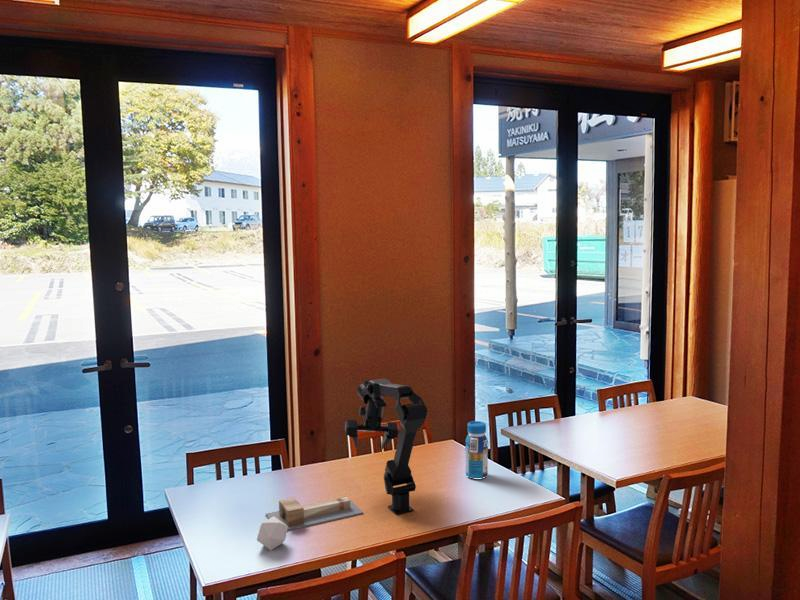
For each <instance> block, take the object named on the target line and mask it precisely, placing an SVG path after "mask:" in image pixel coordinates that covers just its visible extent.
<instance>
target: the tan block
mask: <svg viewBox="0 0 800 600" xmlns="http://www.w3.org/2000/svg"><path fill="white" fill-rule="evenodd" d="M302 506H303V505H302V504H300V502H299V501H298V500H297V499H296V498H295V497H290V498H284V499H280V500H278V509H279V510H278V511H279V516H280V517H281V518H282V519H284V518H286V524H287V526H288V527H290V526H295V525H299V524H304V508H303V507H302Z"/></svg>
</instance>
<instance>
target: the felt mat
mask: <svg viewBox="0 0 800 600" xmlns="http://www.w3.org/2000/svg"><path fill="white" fill-rule="evenodd" d="M344 497H345V496H344ZM344 497H341V498H344ZM339 498H340V497H338V498H337V499H339ZM335 499H336V498H333V499H332V500H335ZM330 500H331V499H329V500H325V501H323V502H326V501H330ZM321 502H322V501H319V502H318V503H321ZM316 503H317V502H315V503H313V504H316ZM311 504H312V503H310V504H309V503H308V504H306V505H305V504H304V506H307V505H311ZM363 514H364V512H363V510H361V508H359V506H357V505H356V504H355V503H354V502H352V500H350V508H349V509H345V510H340V511H336V512H331V513H327V514H322V515H318V516H313V517H309V518H304V524H299V525H295V526H290V527H288V528H287V532H289V531H293V530H297V529H301V528H306V527H311V526H314V525H319V524H324V523H328V522H332V521H337V520H341V519H345V518H350V517H354V516H358V515H359V516H360V515H363ZM265 516H266V517H267V520H268V519H270V518H271V517H273V516H274V517H276V518H277V519H279V520H280V521H281V522H283V523H284V524H285V525H287V524H286V518H284V519H282V518H281V517H280V516H279V510H277V511H271V512H268V513H265Z"/></svg>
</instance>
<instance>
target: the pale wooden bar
mask: <svg viewBox="0 0 800 600" xmlns="http://www.w3.org/2000/svg"><path fill="white" fill-rule="evenodd" d="M338 498H339V499H338ZM338 498H334V499H335V500H333V499H329V500H330V501H328V500H325V501H326V502H324V501H320V502H321V503H319V502H315V503H316V504H314V503H310V504H311V505H309V504H306V505H307V506H305V505H301V506H302V507H303V508H304V518H309V517H313V516H318V515H322V514H327V513H331V512H336V511H340V510H345V509H349V508H350V501H351V499H350V498H349V497H347V496H344V498H342V497H338Z"/></svg>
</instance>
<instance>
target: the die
mask: <svg viewBox="0 0 800 600" xmlns="http://www.w3.org/2000/svg"><path fill="white" fill-rule="evenodd" d="M287 528H288V526H287V525H285V524H284V523H283V522H281V521H280V520H279V519H277V518H276V517H274V516H273V517H271V518H270V519H268V518H267V519H266V520H265V521H263V522H261V524H260V526H259V529H258V533H257V537H256V541H257V542H258V543H260V544H261V545H263V546H264V547H265V548H267V549H268V550H269V551H273V550H274V549H276V548H277V547H279V546H281V545H282V544H284V542H285V541H286V538H287V532H288V531H287Z"/></svg>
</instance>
